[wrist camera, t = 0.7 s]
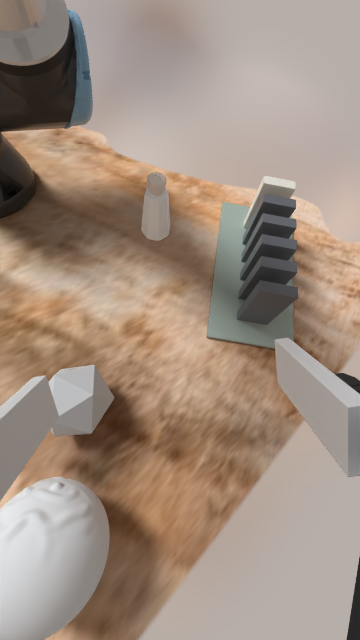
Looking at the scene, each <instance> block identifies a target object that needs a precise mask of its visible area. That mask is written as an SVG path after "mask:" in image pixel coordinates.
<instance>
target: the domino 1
mask: <svg viewBox="0 0 360 640" xmlns="http://www.w3.org/2000/svg"><path fill="white" fill-rule="evenodd" d="M294 191H295V182H294V181H288V180H284V179H279V178H274V177H269V176H264V178H263V180H262V182H261V184H260V187H259V189H258V191H257V193H256V195H255V198H254V200H253V202H252V204H251V206H250V209H249V211H248V213H247V215H246V218H245V220H244V228H247V227H248V225H249V223H250V221H251V219H252V217H253V215H254V213H255V211H256V209H257V207H258V204H259V202H260V200H261V198H262V196H263V194H268V195H273V196H278V197H283V198H288V199H290V197H291V196H292V194H293V192H294Z"/></svg>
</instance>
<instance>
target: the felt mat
mask: <svg viewBox="0 0 360 640" xmlns="http://www.w3.org/2000/svg"><path fill="white" fill-rule="evenodd" d="M249 209H250V207H247V206H242V205H236V204H231V203H226V202H223V203H222V209H221V218H220V226H219V235H218V243H217V252H216V260H215V269H214V277H213V286H212V295H211V303H210V312H209V320H208V329H207V337H208V338H214V339H220V340H225V341H231V342H237V343H243V344H248V345H254V346H260V347H266V348H271V349H275V341H274V340H276V339H282V338H289V339H291V340H292V341H293V342H294V307H293V303H292V304H290V305H289V306H288V307H287V308H286V309H285V310H284V311H282V312H281V313H280V314H279V315H278V316H277V317H276V318H274V319H273V320H272V321H271V322H270V323H269V324H268V325H263V324H257V323H252V322H246V321H240V320H237V311H238V309H239V308H240V307H241V305H242V304H243V303H244V301H245V300H242V299H238V296H239V290H240V288H241V286H242V285H243V283H244V282H245V281H244V280H240V272H241V270H242V268H243V267H244V265H245V263H246V262H242V261H241V256H242V252H243V250H244V248H245V247H246V245H245V244H242V242H243V236H244V234H245V231H246V229H247V228H244V220H245V218H246V215H247V213H248V211H249ZM290 218H291V219H292V215H291V216H290ZM289 239H291V240H293V235H291V236H290V238H289ZM288 261H291V262H293V255H292V256H291V258H290V259H289V260H288ZM286 285H289V286H293V278H292V279H291V280H290V281H289V282H288V283H287V284H286Z"/></svg>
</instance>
